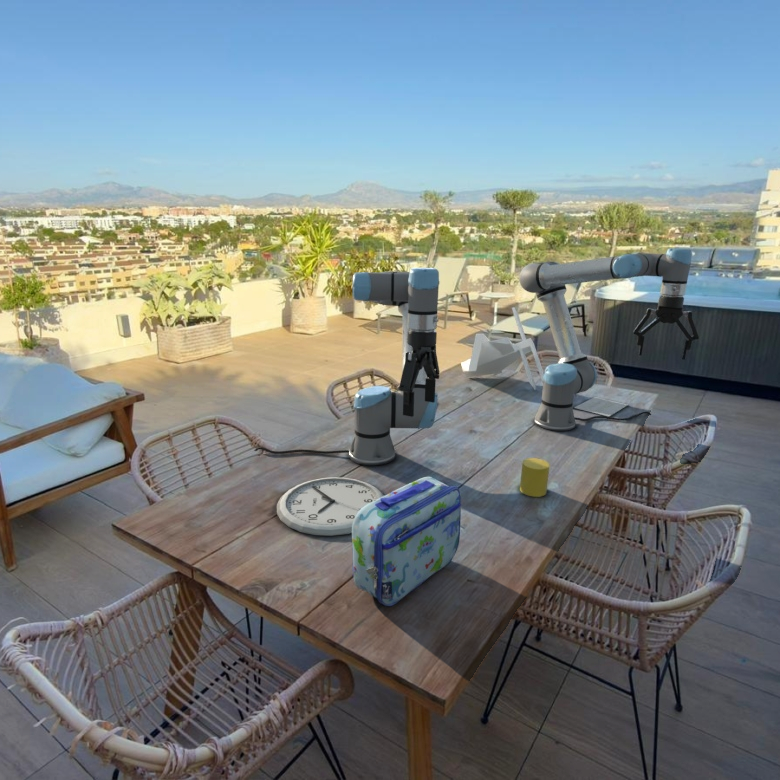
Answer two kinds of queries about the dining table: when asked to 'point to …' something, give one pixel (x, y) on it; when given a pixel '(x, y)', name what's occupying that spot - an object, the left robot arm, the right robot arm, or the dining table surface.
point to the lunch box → (405, 538)
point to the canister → (534, 477)
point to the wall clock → (325, 505)
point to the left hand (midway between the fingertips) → (419, 408)
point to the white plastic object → (500, 355)
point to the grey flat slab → (601, 406)
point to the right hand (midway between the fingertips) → (661, 356)
